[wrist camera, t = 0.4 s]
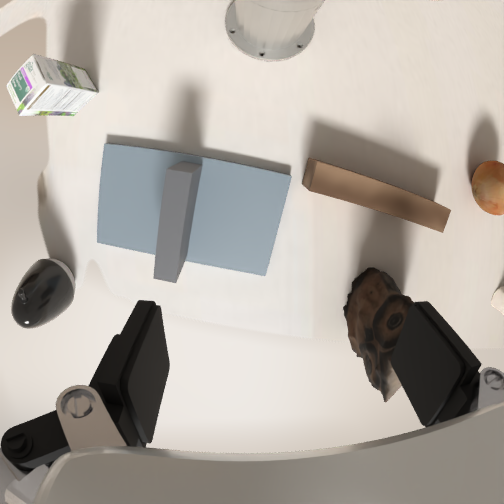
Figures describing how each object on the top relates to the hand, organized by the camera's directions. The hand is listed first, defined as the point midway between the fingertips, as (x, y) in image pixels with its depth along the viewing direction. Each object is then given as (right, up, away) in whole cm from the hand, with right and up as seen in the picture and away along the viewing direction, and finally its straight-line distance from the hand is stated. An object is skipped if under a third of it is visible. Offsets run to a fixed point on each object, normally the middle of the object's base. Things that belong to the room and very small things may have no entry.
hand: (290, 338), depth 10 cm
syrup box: (-28, +28, +25) cm, 47 cm away
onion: (+41, +16, +32) cm, 55 cm away
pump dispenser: (-37, -1, +37) cm, 53 cm away
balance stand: (-11, +10, +33) cm, 36 cm away
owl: (+21, -6, +41) cm, 46 cm away
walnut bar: (+18, +13, +33) cm, 40 cm away
